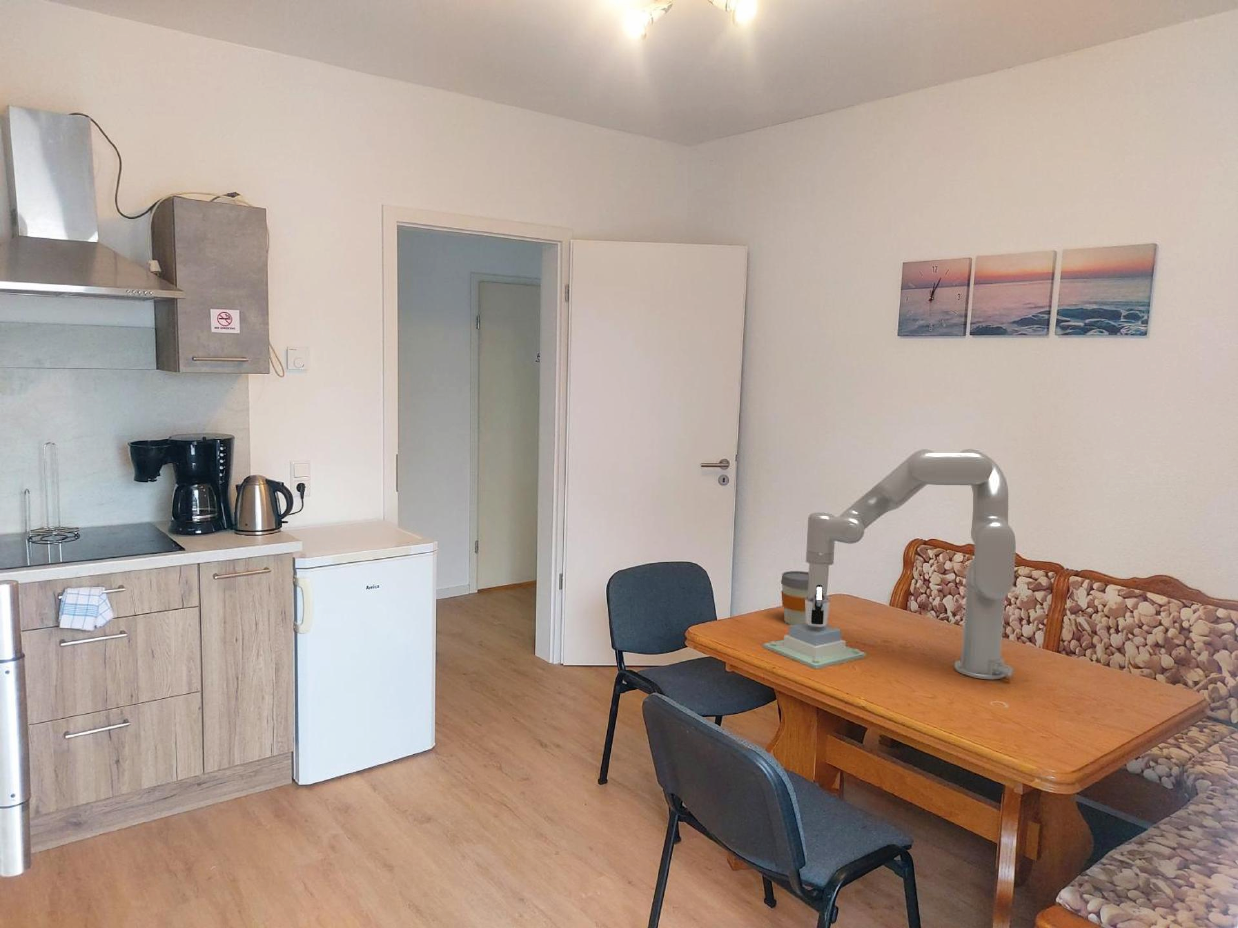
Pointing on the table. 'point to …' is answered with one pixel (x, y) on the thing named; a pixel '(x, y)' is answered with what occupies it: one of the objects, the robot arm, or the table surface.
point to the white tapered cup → (810, 606)
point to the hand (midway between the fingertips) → (816, 619)
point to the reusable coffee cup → (794, 596)
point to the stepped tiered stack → (815, 646)
